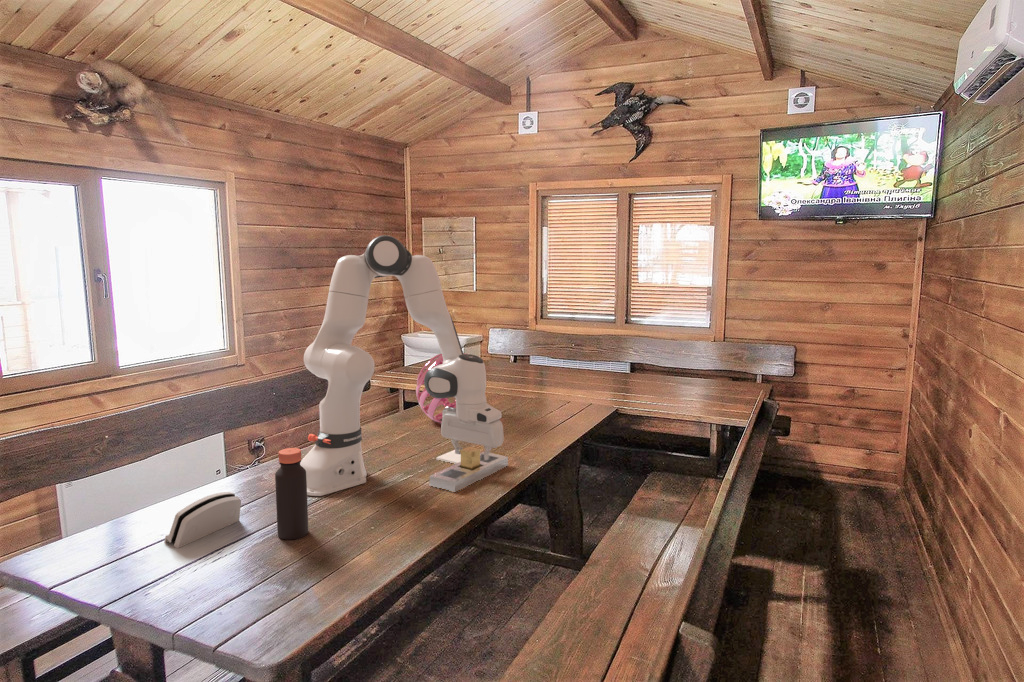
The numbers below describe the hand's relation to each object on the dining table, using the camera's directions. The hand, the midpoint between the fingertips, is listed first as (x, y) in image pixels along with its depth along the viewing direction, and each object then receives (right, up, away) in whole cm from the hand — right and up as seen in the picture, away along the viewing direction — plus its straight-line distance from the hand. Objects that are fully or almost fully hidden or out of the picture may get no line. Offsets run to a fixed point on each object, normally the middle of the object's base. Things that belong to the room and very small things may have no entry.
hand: (471, 456), depth 189 cm
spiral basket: (-12, +3, +58) cm, 60 cm away
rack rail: (0, -6, 0) cm, 6 cm away
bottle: (-39, -11, -39) cm, 56 cm away
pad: (-5, -3, +15) cm, 16 cm away
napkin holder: (-59, -11, -39) cm, 72 cm away
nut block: (0, -6, 0) cm, 6 cm away
